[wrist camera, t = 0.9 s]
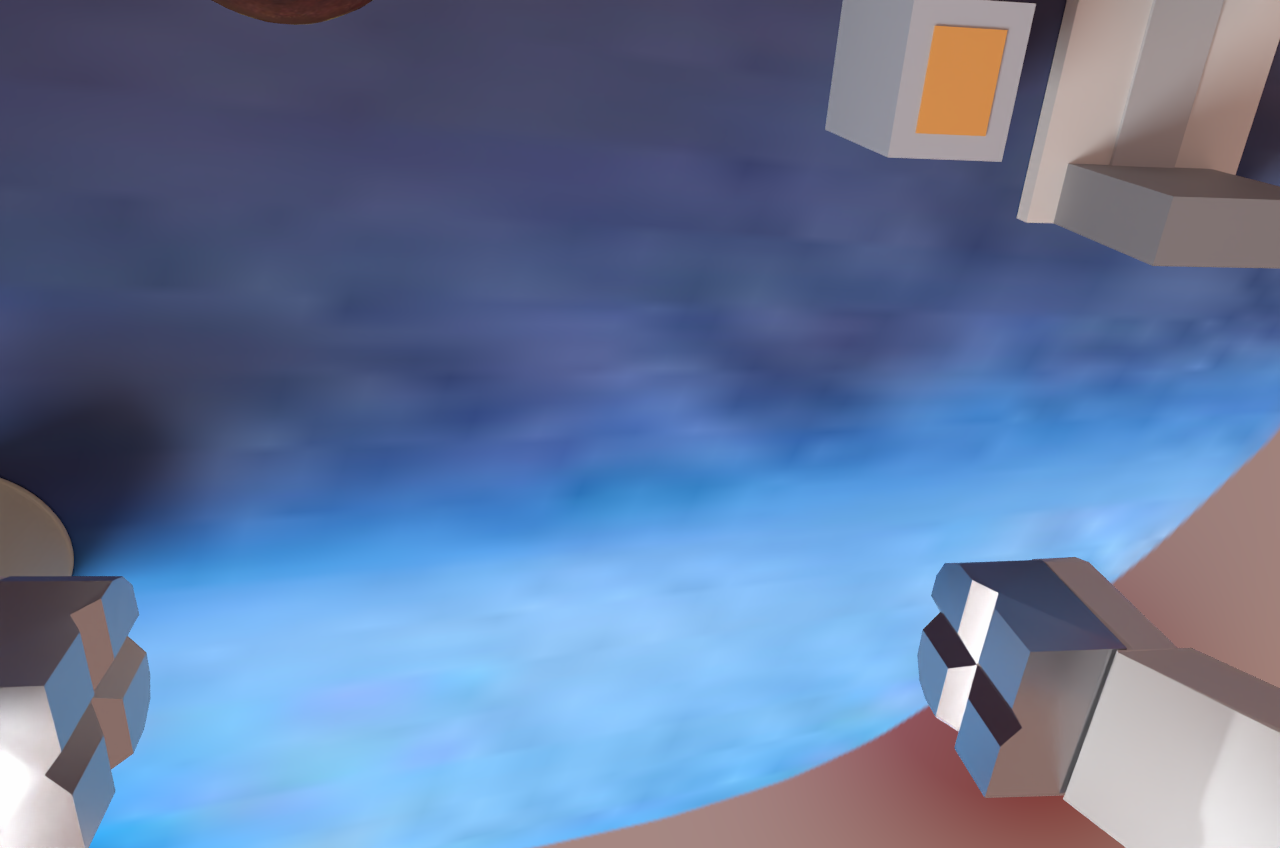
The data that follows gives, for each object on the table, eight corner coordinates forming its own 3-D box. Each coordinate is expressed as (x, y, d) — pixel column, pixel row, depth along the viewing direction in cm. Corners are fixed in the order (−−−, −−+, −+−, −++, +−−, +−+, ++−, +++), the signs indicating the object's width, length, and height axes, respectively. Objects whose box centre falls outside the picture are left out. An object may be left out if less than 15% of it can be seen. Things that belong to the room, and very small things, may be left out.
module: (843, -7, 42) (916, -5, 35) (946, 0, 43) (1037, 3, 36) (824, 129, 45) (888, 158, 38) (922, 133, 46) (1002, 162, 38)
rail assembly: (1087, -88, 42) (1226, -105, 34) (1298, -70, 44) (1479, -82, 36) (1016, 217, 48) (1121, 265, 40) (1205, 223, 50) (1342, 269, 42)
